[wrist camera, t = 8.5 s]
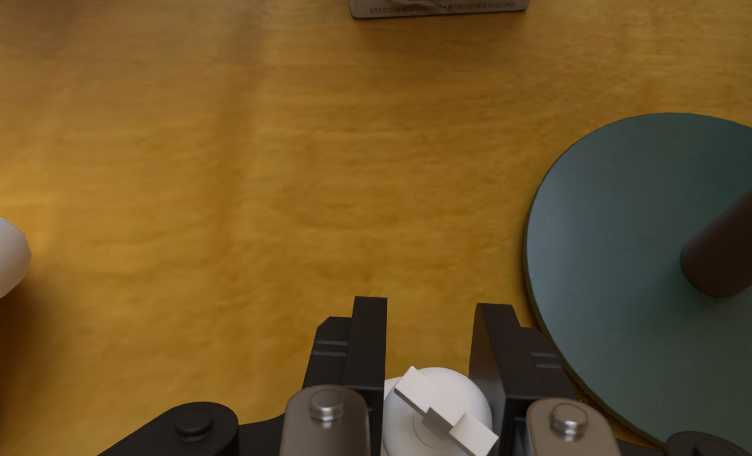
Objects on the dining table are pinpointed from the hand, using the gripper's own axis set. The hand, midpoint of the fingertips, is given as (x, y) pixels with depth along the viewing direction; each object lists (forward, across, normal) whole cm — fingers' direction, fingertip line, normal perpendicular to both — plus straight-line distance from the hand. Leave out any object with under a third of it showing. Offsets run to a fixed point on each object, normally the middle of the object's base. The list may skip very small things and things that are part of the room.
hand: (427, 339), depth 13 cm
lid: (+11, -12, +2) cm, 16 cm away
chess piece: (+3, 0, +6) cm, 6 cm away
